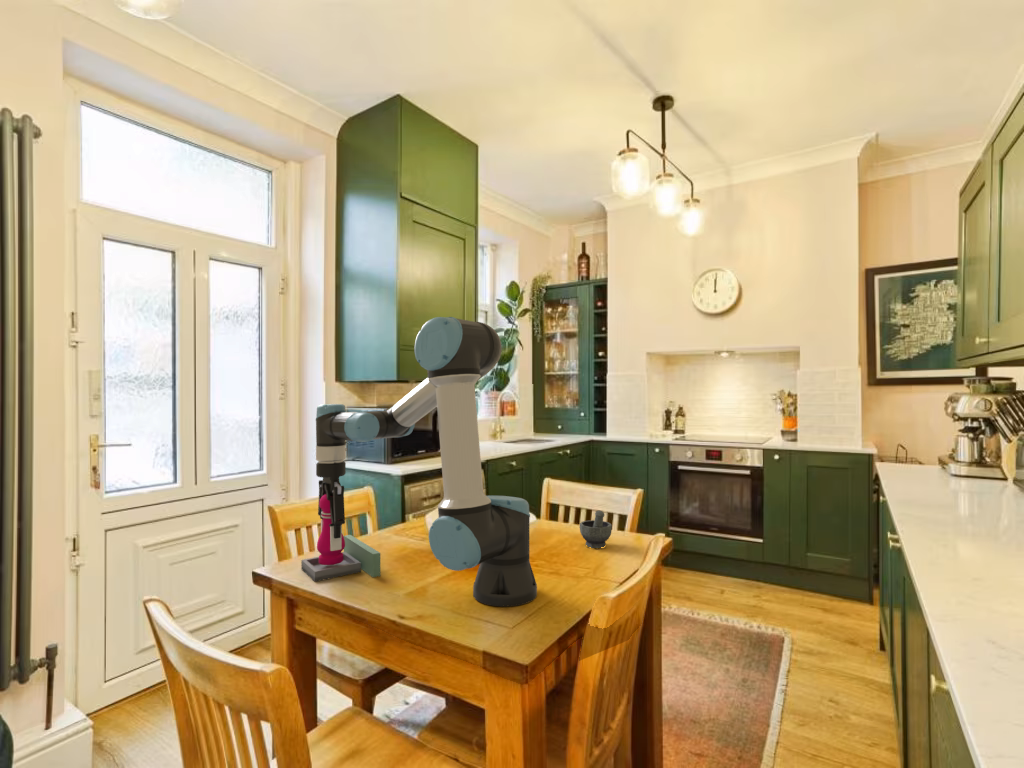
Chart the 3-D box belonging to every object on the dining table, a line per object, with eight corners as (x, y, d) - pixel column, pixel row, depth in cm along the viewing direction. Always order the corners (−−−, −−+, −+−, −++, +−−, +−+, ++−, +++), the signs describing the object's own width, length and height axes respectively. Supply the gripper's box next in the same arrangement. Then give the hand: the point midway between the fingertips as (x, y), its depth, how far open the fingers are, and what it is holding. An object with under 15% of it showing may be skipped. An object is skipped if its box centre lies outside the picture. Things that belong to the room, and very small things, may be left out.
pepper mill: (349, 557, 147) (349, 485, 147) (338, 566, 140) (338, 489, 140) (324, 557, 148) (324, 484, 148) (311, 565, 141) (311, 489, 141)
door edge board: (380, 575, 140) (380, 552, 140) (373, 577, 139) (373, 554, 139) (350, 555, 157) (350, 534, 157) (343, 556, 156) (343, 535, 156)
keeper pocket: (360, 572, 143) (360, 562, 143) (314, 581, 136) (314, 571, 136) (345, 560, 152) (345, 551, 152) (301, 569, 145) (301, 559, 145)
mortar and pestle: (577, 542, 170) (577, 504, 170) (606, 541, 171) (605, 503, 171) (585, 552, 159) (585, 512, 159) (616, 551, 160) (616, 511, 160)
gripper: (358, 464, 139) (358, 552, 138) (332, 456, 155) (332, 536, 154) (329, 466, 134) (329, 558, 134) (305, 458, 150) (305, 540, 150)
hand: (331, 546), depth 144 cm, fingers closed on pepper mill, 7 cm apart
